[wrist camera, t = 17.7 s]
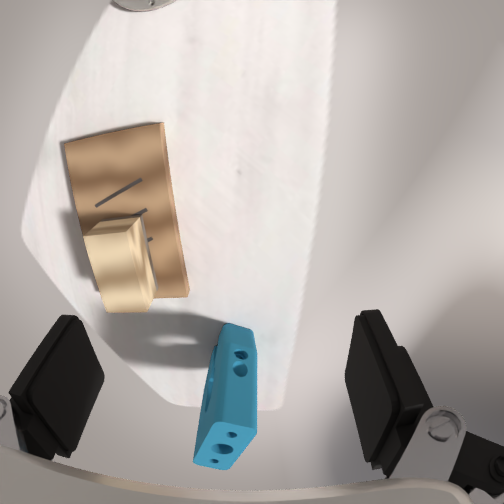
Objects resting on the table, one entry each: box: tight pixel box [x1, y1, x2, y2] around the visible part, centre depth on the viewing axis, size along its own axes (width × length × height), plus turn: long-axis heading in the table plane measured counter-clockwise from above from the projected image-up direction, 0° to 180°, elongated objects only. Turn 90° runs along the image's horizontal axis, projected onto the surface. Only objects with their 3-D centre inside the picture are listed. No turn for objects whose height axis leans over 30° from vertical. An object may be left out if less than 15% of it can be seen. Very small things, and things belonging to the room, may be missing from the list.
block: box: [193, 323, 257, 470], centre depth 43 cm, size 12×5×20 cm, turn 160°
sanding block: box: [83, 215, 158, 313], centre depth 40 cm, size 11×6×6 cm, turn 5°
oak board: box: [64, 123, 190, 298], centre depth 42 cm, size 24×14×2 cm, turn 4°
